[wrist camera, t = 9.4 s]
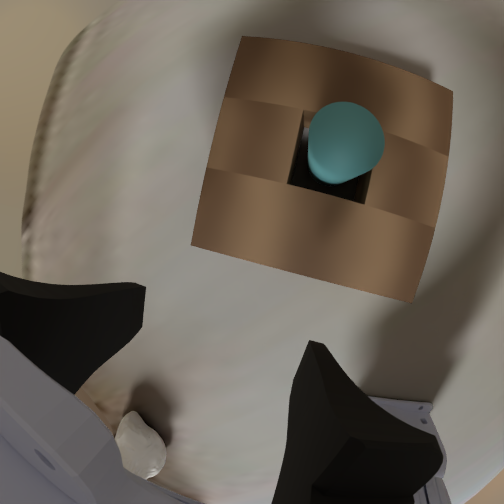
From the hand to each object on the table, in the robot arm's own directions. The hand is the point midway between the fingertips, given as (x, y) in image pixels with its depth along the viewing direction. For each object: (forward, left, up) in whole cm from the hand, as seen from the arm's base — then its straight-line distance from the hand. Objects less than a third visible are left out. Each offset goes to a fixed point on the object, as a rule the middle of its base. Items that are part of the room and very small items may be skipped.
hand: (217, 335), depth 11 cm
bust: (+8, +24, -10) cm, 27 cm away
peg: (-3, -9, -10) cm, 14 cm away
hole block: (-3, -9, -10) cm, 14 cm away
